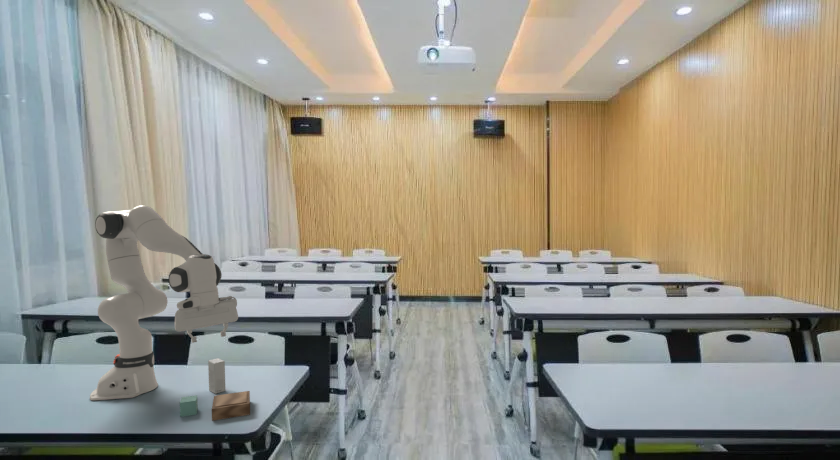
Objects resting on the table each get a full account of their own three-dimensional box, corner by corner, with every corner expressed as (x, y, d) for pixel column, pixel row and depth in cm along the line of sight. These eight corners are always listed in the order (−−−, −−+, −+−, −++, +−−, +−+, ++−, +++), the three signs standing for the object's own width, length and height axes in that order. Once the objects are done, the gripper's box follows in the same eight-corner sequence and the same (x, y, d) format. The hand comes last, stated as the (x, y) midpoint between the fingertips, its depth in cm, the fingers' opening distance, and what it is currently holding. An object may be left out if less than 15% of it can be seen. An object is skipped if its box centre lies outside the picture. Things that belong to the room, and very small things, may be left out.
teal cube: (180, 417, 156) (179, 402, 156) (182, 411, 161) (181, 397, 161) (196, 414, 158) (195, 400, 158) (197, 408, 163) (197, 395, 162)
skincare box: (226, 391, 179) (225, 361, 178) (215, 394, 175) (214, 363, 175) (219, 387, 183) (218, 357, 182) (208, 390, 180) (207, 360, 179)
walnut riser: (212, 420, 153) (211, 408, 153) (214, 406, 164) (214, 394, 164) (250, 414, 157) (249, 402, 157) (249, 401, 168) (249, 389, 168)
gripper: (234, 294, 168) (238, 332, 168) (171, 304, 156) (175, 344, 156) (238, 295, 163) (242, 334, 163) (173, 305, 151) (178, 346, 151)
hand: (209, 339), depth 159 cm, fingers open, 8 cm apart
